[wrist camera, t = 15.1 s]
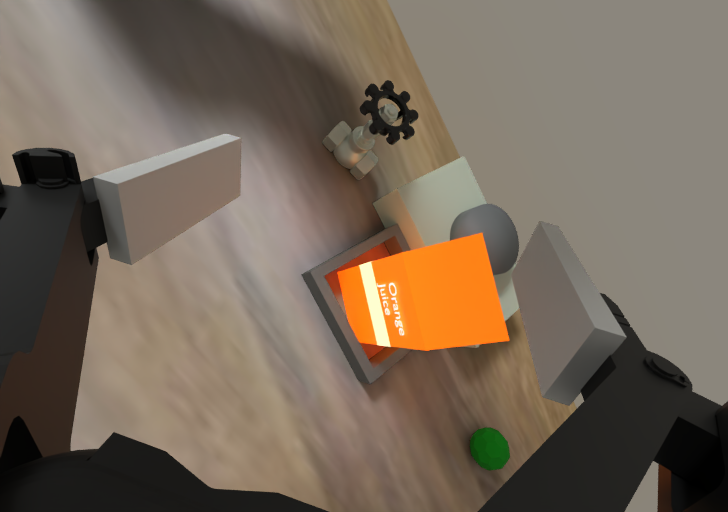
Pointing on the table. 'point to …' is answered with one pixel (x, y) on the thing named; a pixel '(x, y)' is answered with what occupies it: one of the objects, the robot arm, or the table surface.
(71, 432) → the robot arm
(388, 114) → the valve
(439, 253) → the orange juice
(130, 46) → the table surface
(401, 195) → the grey boxy fixture
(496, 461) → the polyhedron
